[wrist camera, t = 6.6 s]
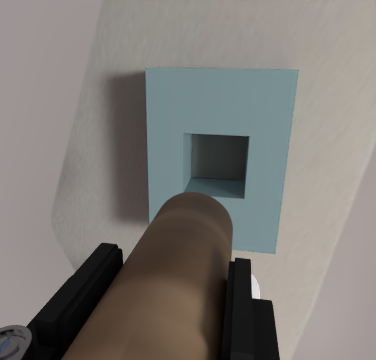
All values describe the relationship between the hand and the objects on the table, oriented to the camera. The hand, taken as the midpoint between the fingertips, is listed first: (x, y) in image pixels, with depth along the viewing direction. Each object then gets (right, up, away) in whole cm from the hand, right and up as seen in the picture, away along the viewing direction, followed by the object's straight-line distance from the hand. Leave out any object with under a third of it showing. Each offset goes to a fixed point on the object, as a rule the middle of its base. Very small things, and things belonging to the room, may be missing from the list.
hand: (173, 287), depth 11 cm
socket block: (+4, +7, +20) cm, 21 cm away
